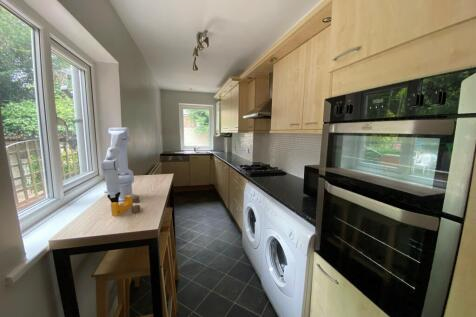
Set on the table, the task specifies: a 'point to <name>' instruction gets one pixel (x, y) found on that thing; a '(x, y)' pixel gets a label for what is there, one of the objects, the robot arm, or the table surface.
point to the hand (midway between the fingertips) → (115, 206)
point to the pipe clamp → (121, 206)
